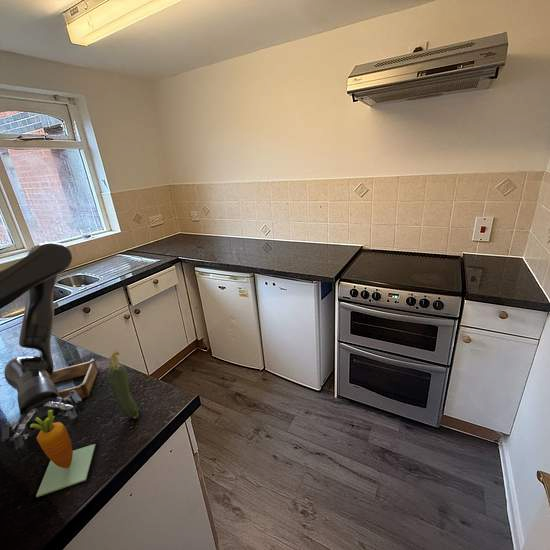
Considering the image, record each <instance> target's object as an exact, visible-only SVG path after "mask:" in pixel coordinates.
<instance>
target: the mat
mask: <svg viewBox="0 0 550 550" xmlns="http://www.w3.org/2000/svg"><path fill="white" fill-rule="evenodd" d="M95 449H96V443H94V444H90V445H87V446H84V447H80V448H77V449H74V450H73V456H72V461H71V465H70V467H69V468H62V467H59V466H57V465H56V464H54V463H53V462H52V461H51V460H50V459H49V460H50V461H49V463H48V466H47V468H46V471H45V473H44V474H43V475H44V476H43V478H42V480H41V483H40V485H39V487H38V490H37V493H36V495H35V497H36V498H39V497H42V496H45V495H48V494H51V493H54V492H56V491H59V490H62V489H65V488H68V487H72V486H74V485H77V484H80V483H82V482H86V481H87V479H88V475H89V471H90V467H91V464H92V460H93V456H94V453H95Z"/></svg>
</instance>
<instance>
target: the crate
mask: <svg viewBox="0 0 550 550" xmlns="http://www.w3.org/2000/svg"><path fill="white" fill-rule="evenodd" d="M98 372H99V368H98V365H97V363H96V360H95V358H92V359H90V360H89V361H86V362H85V361H84V362H81V363H77V364H74V365H70V366H65V367H62V368H58V369H54V370H53V373H52V375H51V376H50V377H51V379H52V382H53V383H54V384H57V383H59V382H62V381H67V380H70V379H74V378H79V377H82V376H84V378H83V380H82V383H80V384H79V385H76V386H72V387H68V388H66V389H60V390H58V393H59V396H60V398H65V397H67V396H69V395H70V394H69V393H70V392H71V391H73V390H75V391H76V393H77V394H78V395H79V397H80V398H81V400H82V399H86V398H89V397H90V395H91V391H92V388H93V386H94V383H95V380H96V377H97V374H98Z"/></svg>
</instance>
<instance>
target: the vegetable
mask: <svg viewBox="0 0 550 550" xmlns="http://www.w3.org/2000/svg"><path fill="white" fill-rule="evenodd" d="M118 356H120V352H119V351H118V350H114V351H113V352H112V354H111V355H110V357H109V369H108V370H107V372H106V378H107V382H108V385H109V387H110V389H111V392H112V395H113V397H114V399H115V401H116V404H117V407H118V409H119V410H120V411H121V413H122V414H123V416H124V417H126V418H129V419H133V420H134V419H138V417H139V410H138V405H137V404H136V402H135V400H134V398H133V395H132V394H131V390H130V382H129V374H128V370H127V369H126V367H125V366H124V365H123V364H121V363H120V361H119V358H118Z"/></svg>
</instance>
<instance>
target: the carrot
mask: <svg viewBox="0 0 550 550" xmlns="http://www.w3.org/2000/svg"><path fill="white" fill-rule="evenodd" d="M54 417H55V416H53V410H48V418H46V419H45V421H43V422H42V421H41V419H39V418H38V417H36V419H35V420H36V421H37V422H38V423H39V424H40V425H41V426H40V425H39V424H31V425H30V427H31V428H35V429H37V430H39V433H38V434H37V436H36V441H37V443H38V444H39V447H40V448H41V449H42V451H43V452H44V454H45V455H46V457H47V458H48V459H49V460H51V461H52V462H53V463H54V464H56V465H57V466H59V467H62V468H69V467H70V465H71V461H72V456H73V451H74V450H73V445H72V440H71V437H70V435H69V432H68V430H67V427H66V426H65V425H64V424H63V423H62V422H61V421H57V422H54V421H55V420H54Z"/></svg>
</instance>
